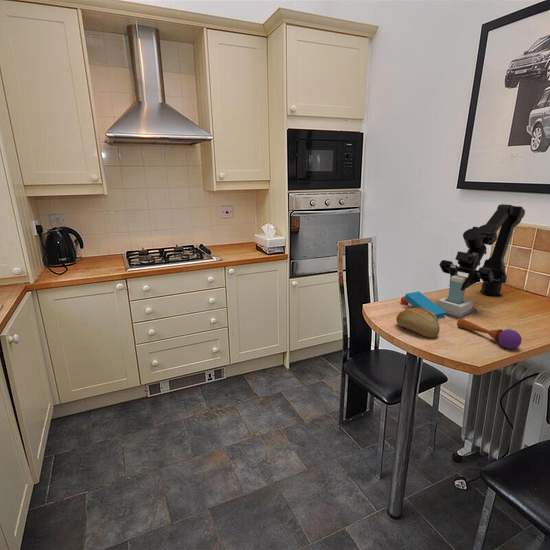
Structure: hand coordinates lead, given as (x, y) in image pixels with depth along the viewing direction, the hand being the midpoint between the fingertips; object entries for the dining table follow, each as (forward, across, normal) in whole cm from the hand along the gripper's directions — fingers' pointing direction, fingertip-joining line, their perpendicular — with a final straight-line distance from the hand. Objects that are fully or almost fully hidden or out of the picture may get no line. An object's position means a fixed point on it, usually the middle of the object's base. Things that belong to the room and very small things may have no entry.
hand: (455, 288), depth 137 cm
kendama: (+16, +18, -2) cm, 25 cm away
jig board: (+6, 0, +8) cm, 10 cm away
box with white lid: (+4, 0, +6) cm, 7 cm away
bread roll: (+26, +1, -12) cm, 28 cm away
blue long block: (+13, -9, +1) cm, 16 cm away
